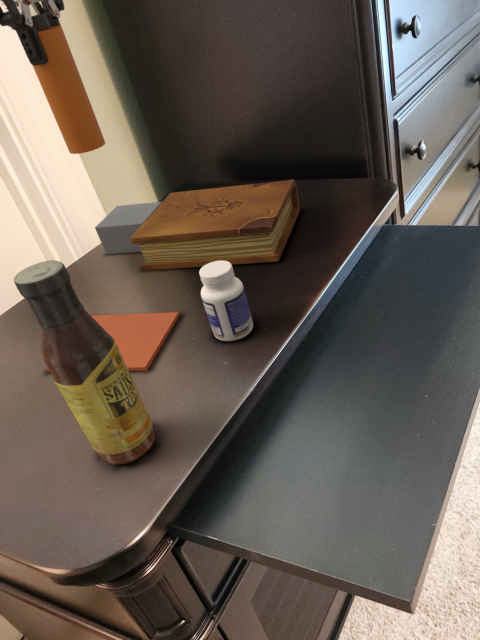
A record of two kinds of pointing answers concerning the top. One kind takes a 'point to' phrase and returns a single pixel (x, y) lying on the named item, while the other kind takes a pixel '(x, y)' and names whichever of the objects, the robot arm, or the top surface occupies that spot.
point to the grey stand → (123, 227)
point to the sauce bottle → (86, 366)
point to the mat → (138, 335)
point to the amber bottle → (66, 90)
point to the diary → (219, 226)
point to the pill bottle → (225, 301)
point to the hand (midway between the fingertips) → (51, 58)
